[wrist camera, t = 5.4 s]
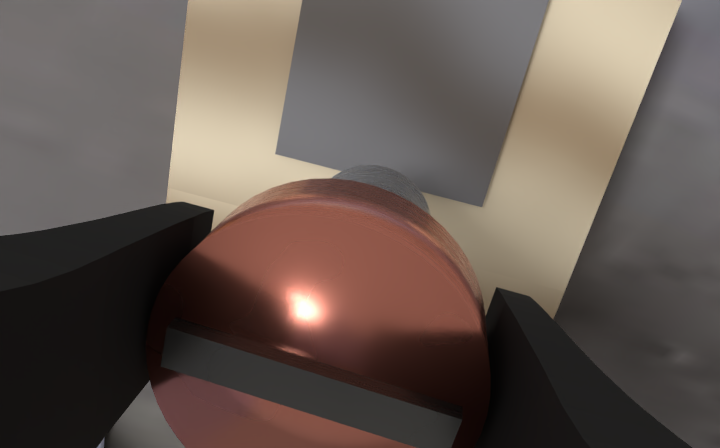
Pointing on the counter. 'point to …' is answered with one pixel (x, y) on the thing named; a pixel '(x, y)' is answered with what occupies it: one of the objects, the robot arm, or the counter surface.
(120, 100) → the counter surface
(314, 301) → the peg
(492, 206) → the board
